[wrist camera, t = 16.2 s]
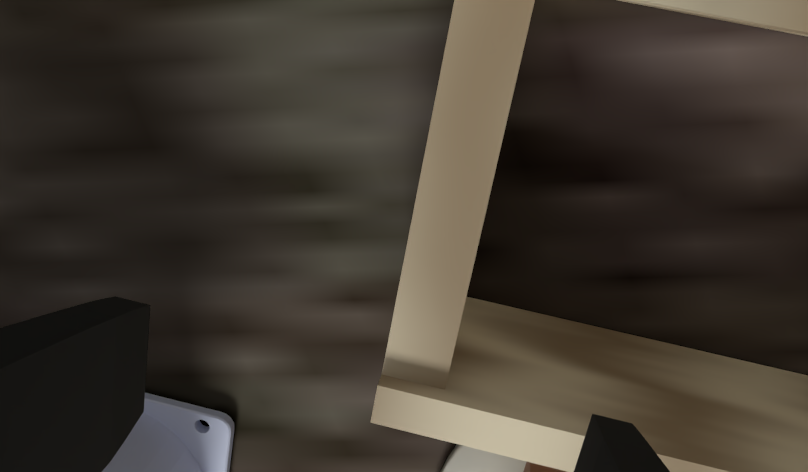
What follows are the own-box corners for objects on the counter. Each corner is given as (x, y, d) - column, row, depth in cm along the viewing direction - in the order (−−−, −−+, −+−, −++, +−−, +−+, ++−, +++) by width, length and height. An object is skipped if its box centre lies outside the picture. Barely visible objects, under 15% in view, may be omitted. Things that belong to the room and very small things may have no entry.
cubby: (409, 313, 22) (370, 422, 17) (486, -67, 19) (470, -94, 13) (860, 420, 21) (982, 575, 15) (1040, 35, 17) (1286, 56, 12)
